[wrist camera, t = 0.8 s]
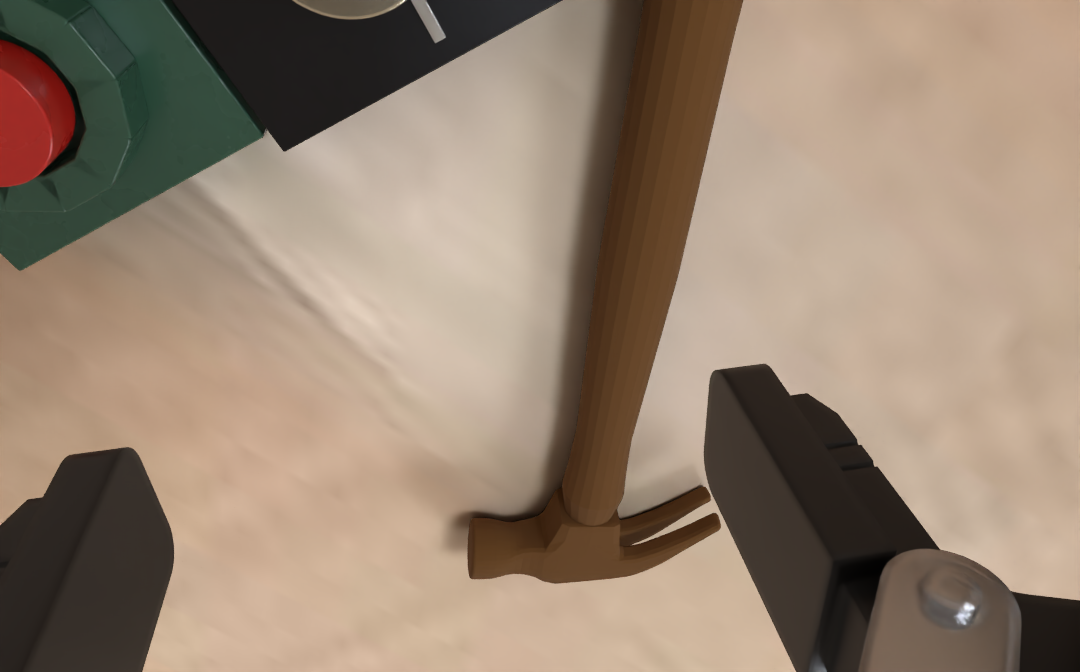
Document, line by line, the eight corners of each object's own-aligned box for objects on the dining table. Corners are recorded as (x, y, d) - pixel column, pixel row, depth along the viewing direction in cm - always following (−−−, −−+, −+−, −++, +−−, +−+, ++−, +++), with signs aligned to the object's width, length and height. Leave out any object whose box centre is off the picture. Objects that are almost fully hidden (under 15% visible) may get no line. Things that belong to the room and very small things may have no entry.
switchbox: (72, -170, 22) (8, -160, 19) (276, 112, 27) (253, 159, 24) (-193, 8, 24) (-293, 45, 20) (45, 241, 29) (-5, 301, 25)
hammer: (555, -132, 23) (466, 543, 40) (571, -121, 21) (468, 595, 38) (911, -77, 25) (684, 543, 42) (964, -60, 23) (700, 593, 40)
